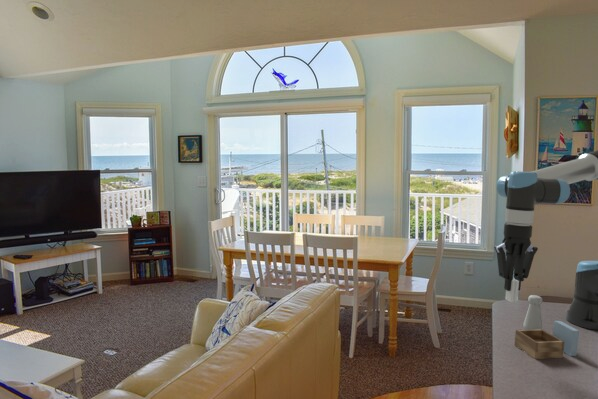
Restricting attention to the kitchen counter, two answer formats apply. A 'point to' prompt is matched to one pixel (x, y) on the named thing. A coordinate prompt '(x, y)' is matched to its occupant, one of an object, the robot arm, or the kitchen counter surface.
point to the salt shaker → (533, 314)
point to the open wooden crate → (539, 344)
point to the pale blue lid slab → (567, 337)
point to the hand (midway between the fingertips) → (511, 300)
